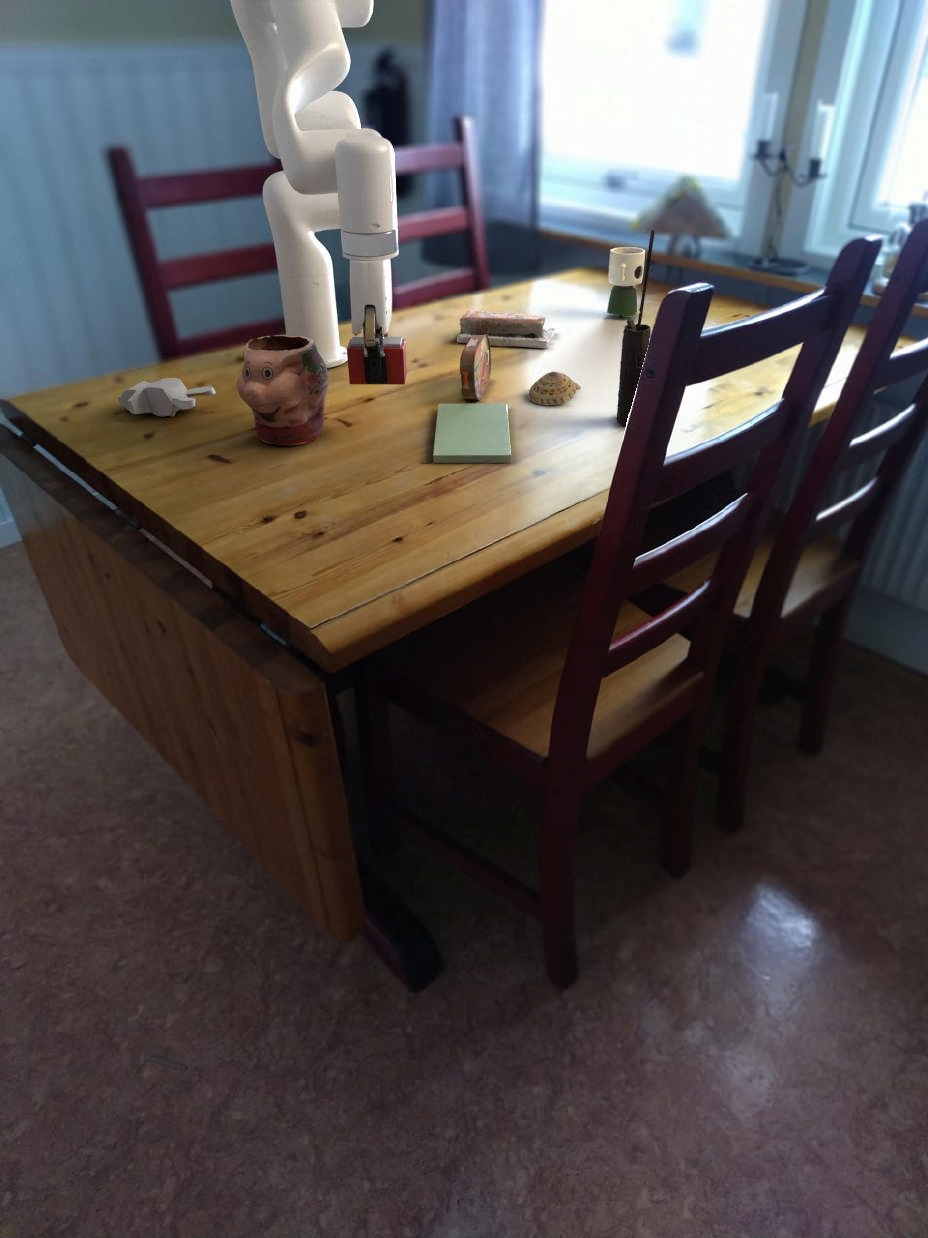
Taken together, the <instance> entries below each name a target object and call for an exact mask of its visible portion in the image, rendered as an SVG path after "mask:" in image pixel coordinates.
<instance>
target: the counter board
mask: <svg viewBox="0 0 928 1238" xmlns="http://www.w3.org/2000/svg"><path fill="white" fill-rule="evenodd" d="M508 411H509V410H508V403H438V405H437V414H436V423H435V434H434V443H433V451H432V452H433V453H432V462H433V464H501V463H502V464H510V463H512V449H511V439H510V438H511V437H510V427H509V425H510V424H509V413H508Z"/></svg>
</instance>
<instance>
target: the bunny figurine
mask: <svg viewBox="0 0 928 1238" xmlns="http://www.w3.org/2000/svg"><path fill="white" fill-rule="evenodd" d="M216 393H217V392H216V390H215V388H214V387H213V386H212V385H206V386H200V387H195V388H190V389H188V388H187V386H185V384H184V383H183V381H182V380H181V379H180V378H177V377H165V378H164V377H163V378H162V379H159V380H157V381H154V382H148V381H146V380H143V381H140V382H139V383H137V384H135V385H133V386H131V387H129V388H128V389H126V390H124V391H122V393H121V395H119V396H117V399H118V402H119V405H120V407H124V408H125V409H126V410H127V411H128V412H130V413H131V414H133V415H139V414H153V415H155V416H156V417H170V418H173V417H175V416H176V412H179V411H180V412H182V411H184V410H190V409H192V408H194V407H196V398H194V397H201V396H203V397H204V396H212V395H215V394H216Z"/></svg>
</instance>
